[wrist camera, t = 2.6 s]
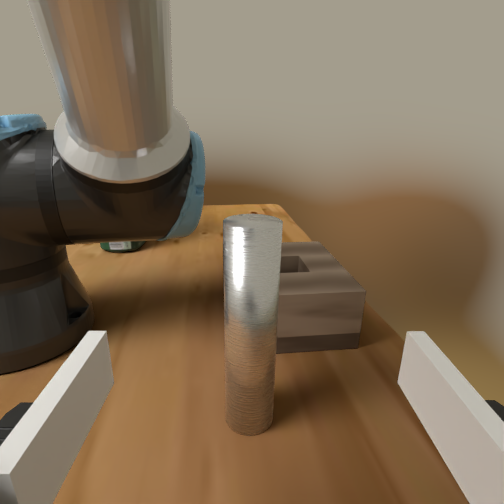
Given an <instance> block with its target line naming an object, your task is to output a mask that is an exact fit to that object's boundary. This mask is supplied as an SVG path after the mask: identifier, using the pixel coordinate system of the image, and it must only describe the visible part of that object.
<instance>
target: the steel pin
mask: <svg viewBox="0 0 504 504" xmlns="http://www.w3.org/2000/svg"><path fill="white" fill-rule="evenodd" d="M282 224H283V222H282V220H280V219H279V218H276V217H273V216H269V215H262V214H241V215H234V216H230V217H227V218H225V219H224V220H223V244H224V330H225V415H226V422H227V424H228V426H229V427H230V428H231V429H232V430H233V431H235V432H236V433H239V434H241V435H247V436H252V435H257V434H260V433H262V432H264V431H266V430H267V429H268V428H269V427H270V425H271V423H272V420H273V405H274V385H275V365H276V345H277V324H278V304H279V284H280V264H281V244H282Z"/></svg>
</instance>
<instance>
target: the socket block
mask: <svg viewBox="0 0 504 504" xmlns="http://www.w3.org/2000/svg"><path fill="white" fill-rule="evenodd" d="M223 285H224V244H223ZM365 295H366V291H365V290H364V288H363V287H361V285H360V284H359V283H358V282H357V281H356V280H355V279H354V278H353V277H352V276H351V275H350V274H349V273H348V272H347V271H346V270H345V269H344V267H343V266H342V265H341V264H340V263H339V262H338V261H337V260H336V259H335V258H334V257H333V256H332V255H331V254H330V253H329V252H328V251H327V249H325V247H324V246H323V245H322V244H321V243H320V242H287V243H282V244H281V264H280V284H279V304H278V324H277V345H276V354H277V353H292V352H307V351H322V350H337V349H352V348H358V344H359V337H360V330H361V324H362V317H363V310H364V303H365Z"/></svg>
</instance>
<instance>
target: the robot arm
mask: <svg viewBox="0 0 504 504" xmlns="http://www.w3.org/2000/svg"><path fill="white" fill-rule="evenodd" d="M26 1H27V4H28V7H29V10H30V13H31V15H32V19H33V21H34V24H35V27H36V30H37V33H38V36H39V39H40V42H41V45H42V48H43V51H44V54H45V56H46V60H47V62H48V65H49V68H50V71H51V74H52V77H53V80H54V83H55V86H56V89H57V92H58V95H59V97H60V100H61V103H62V106H63V109H64V111H63V112H62V113H61V115H60V116H59V118H58V119H57V122H56V124H55V128H54V130H46V123H45V122H44V121H43V119H42V117H41V116H39V115H37V114H18V115H4V116H0V374H2V373H7V372H12V371H16V370H20V369H24V368H27V367H30V366H33V365H36V364H39V363H42V362H44V361H47V360H49V359H51V358H53V357H56V356H58V355H59V354H61V353H63V352H65V351H67V350H68V349H70V348H71V347H73V346H74V345H76V344H77V343H78V342H80V343H79V344H78V345H77V347H76V348H75V349H74V351H73V352H72V353H71V354H70V356H69V357H68V358H67V360H66V361H65V362H64V364H63V365H62V366H61V367H60V369H59V370H58V371H57V373H56V374H55V375H54V377H53V378H52V379H51V381H50V382H49V383H48V384H47V386H46V387H45V388H44V390H43V391H42V392H41V394H40V395H39V396H38V398H37V399H36V400H35V401H34V403H20V404H18V405H17V406H16V407H14V408H13V409H12V410H10V411H9V412H8V413H6V414H5V415H4V416H3V418H2V419H1V420H0V504H52V503H53V501H54V499H55V497H56V496H57V494H58V492H59V490H60V488H61V486H62V484H63V482H64V480H65V478H66V476H67V474H68V472H69V470H70V468H71V466H72V464H73V462H74V460H75V458H76V456H77V454H78V452H79V451H80V449H81V447H82V445H83V443H84V441H85V439H86V437H87V435H88V433H89V431H90V429H91V427H92V425H93V423H94V421H95V419H96V417H97V415H98V413H99V411H100V409H101V407H102V406H103V404H104V402H105V400H106V398H107V396H108V394H109V392H110V390H111V388H112V386H113V384H114V379H113V372H112V365H111V358H110V351H109V344H108V338H107V331H90V330H91V328H92V326H93V324H94V311H93V305H92V301H91V299H90V297H89V295H88V293H87V292H86V290H85V288H84V287H83V285H82V283H81V282H80V280H79V278H78V276H77V275H76V273H75V271H74V270H73V268H72V266H71V265H70V263H69V261H68V256H67V251H66V246H65V245H72V244H74V245H75V244H89V243H106V242H127V241H149V240H156V241H164V240H167V239H170V238H179V237H185V236H188V235H190V234H191V233H192V232H193V231H194V230H195V229H196V227H197V225H198V223H199V220H200V217H201V212H202V208H203V200H204V192H203V188H204V184H205V156H204V149H203V144H202V141H201V138H200V137H199V135H198V134H197V133H195V132H192V131H189V127H188V124H187V122H186V120H185V118H184V116H183V115H182V114H181V113H180V111H179V110H178V109H176V108H175V107H174V106H173V99H172V98H173V95H172V60H171V59H172V58H171V21H170V0H26ZM398 384H399V386H400V387H401V389H402V391H403V392H404V394H405V396H406V398H407V399H408V401H409V403H410V404H411V406H412V408H413V409H414V411H415V413H416V414H417V416H418V418H419V419H420V421H421V423H422V424H423V426H424V428H425V429H426V431H427V433H428V434H429V436H430V438H431V439H432V441H433V443H434V444H435V446H436V448H437V450H438V451H439V453H440V455H441V456H442V458H443V460H444V461H445V463H446V465H447V466H448V468H449V470H450V471H451V473H452V475H453V476H454V478H455V480H456V481H457V483H458V485H459V486H460V488H461V490H462V491H463V493H464V495H465V497H466V498H467V500H468V502H469V503H470V504H504V406H502V405H501V404H499V403H498V402H496V401H495V400H484V399H483V398H482V397H481V396H480V394H479V393H478V392H477V391H476V390H475V389H474V388H473V386H471V384H470V383H469V382H468V381H467V380H466V378H465V377H464V376H463V375H462V374H461V373H460V372H459V371H458V369H457V368H456V367H455V366H454V365H453V364H452V363H451V361H450V360H449V359H448V358H447V357H446V356H445V354H444V353H443V352H442V351H441V350H440V349H439V348H438V346H437V345H436V344H435V343H434V342H433V341H432V340H431V338H430V337H429V336H428V335H427V334H426V333H425V332H424V331H408V332H407V335H406V340H405V345H404V350H403V356H402V361H401V366H400V372H399V377H398Z"/></svg>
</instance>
